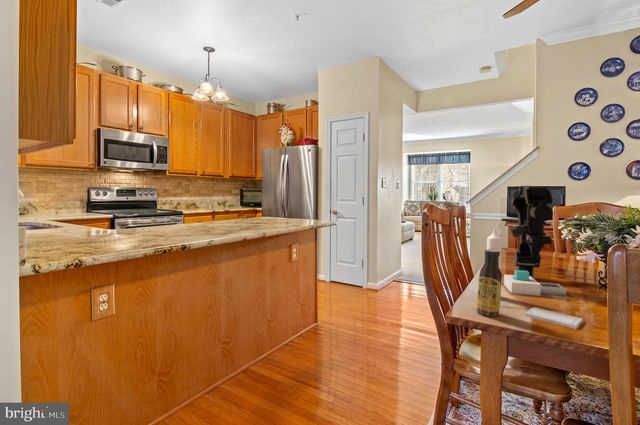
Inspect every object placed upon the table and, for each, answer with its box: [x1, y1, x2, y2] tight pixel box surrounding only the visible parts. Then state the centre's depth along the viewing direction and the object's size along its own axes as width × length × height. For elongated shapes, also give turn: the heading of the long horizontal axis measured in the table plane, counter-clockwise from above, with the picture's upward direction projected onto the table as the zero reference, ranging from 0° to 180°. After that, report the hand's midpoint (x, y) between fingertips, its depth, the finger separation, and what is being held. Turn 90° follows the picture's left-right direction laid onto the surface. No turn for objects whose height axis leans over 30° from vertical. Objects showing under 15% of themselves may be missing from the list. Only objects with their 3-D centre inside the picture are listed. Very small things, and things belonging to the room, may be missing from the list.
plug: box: [513, 269, 529, 281], centre depth 121 cm, size 3×4×7 cm
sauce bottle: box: [476, 248, 503, 317], centre depth 99 cm, size 7×6×20 cm
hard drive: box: [524, 306, 584, 330], centre depth 96 cm, size 2×8×12 cm
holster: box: [537, 281, 567, 296], centre depth 118 cm, size 7×8×2 cm
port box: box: [503, 274, 541, 296], centre depth 121 cm, size 12×9×4 cm
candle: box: [486, 228, 503, 272], centre depth 112 cm, size 7×7×25 cm
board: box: [501, 282, 573, 301], centre depth 120 cm, size 16×18×1 cm
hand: (533, 258), depth 125 cm, fingers closed
